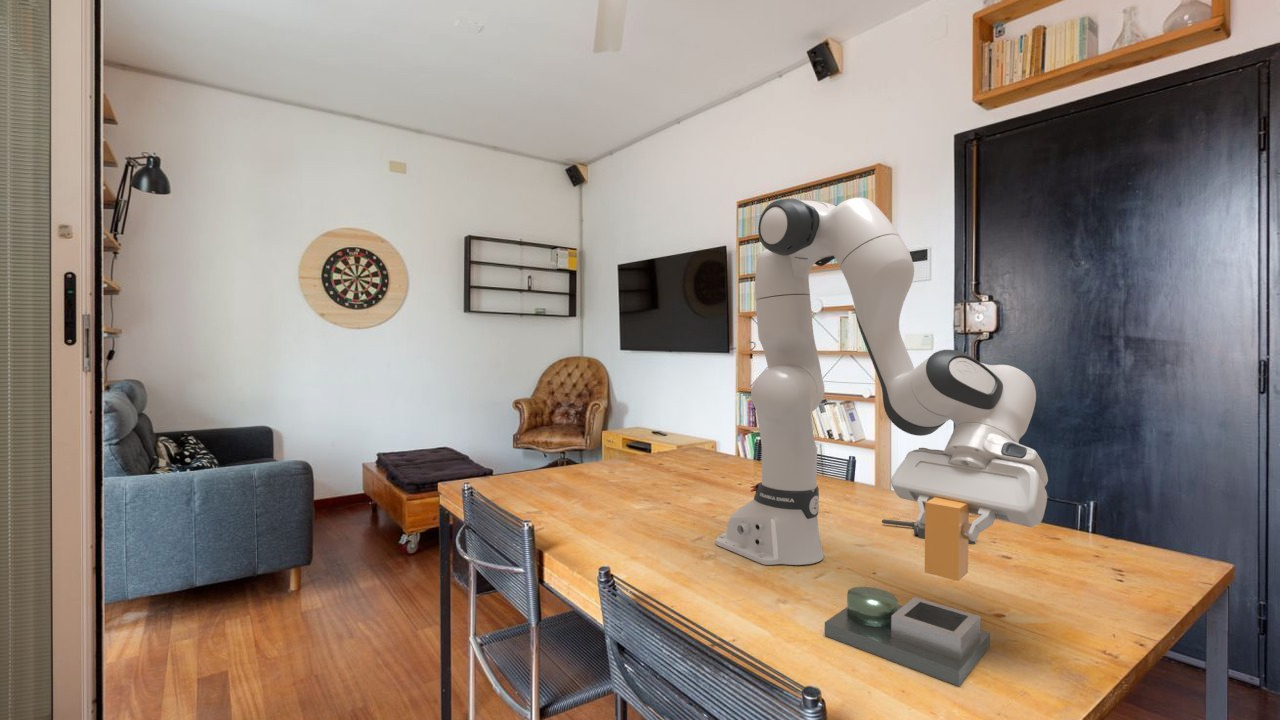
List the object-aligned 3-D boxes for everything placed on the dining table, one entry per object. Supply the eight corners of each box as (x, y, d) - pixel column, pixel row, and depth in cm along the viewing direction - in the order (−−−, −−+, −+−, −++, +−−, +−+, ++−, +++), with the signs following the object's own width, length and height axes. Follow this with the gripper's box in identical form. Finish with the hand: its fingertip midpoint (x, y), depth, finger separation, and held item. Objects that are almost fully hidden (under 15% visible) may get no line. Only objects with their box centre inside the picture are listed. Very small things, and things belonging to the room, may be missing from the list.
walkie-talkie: (975, 535, 133) (881, 525, 141) (975, 516, 133) (881, 507, 141) (982, 547, 125) (882, 536, 133) (982, 527, 125) (882, 516, 133)
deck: (824, 635, 85) (824, 601, 85) (865, 606, 95) (865, 576, 95) (958, 686, 72) (959, 646, 72) (989, 646, 82) (990, 611, 82)
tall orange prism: (924, 572, 82) (925, 502, 82) (934, 564, 85) (935, 496, 85) (958, 581, 79) (959, 508, 79) (967, 572, 82) (968, 502, 82)
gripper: (904, 434, 94) (869, 502, 89) (1049, 452, 78) (1017, 538, 72) (918, 458, 97) (884, 526, 91) (1061, 481, 80) (1031, 566, 75)
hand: (944, 532), depth 82 cm, fingers closed on tall orange prism, 5 cm apart
